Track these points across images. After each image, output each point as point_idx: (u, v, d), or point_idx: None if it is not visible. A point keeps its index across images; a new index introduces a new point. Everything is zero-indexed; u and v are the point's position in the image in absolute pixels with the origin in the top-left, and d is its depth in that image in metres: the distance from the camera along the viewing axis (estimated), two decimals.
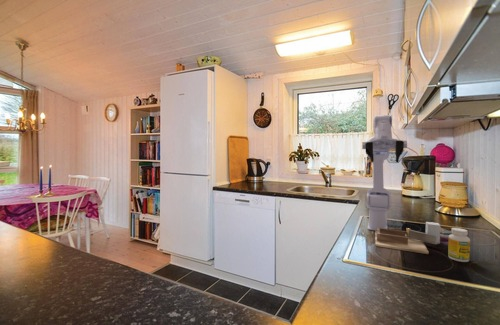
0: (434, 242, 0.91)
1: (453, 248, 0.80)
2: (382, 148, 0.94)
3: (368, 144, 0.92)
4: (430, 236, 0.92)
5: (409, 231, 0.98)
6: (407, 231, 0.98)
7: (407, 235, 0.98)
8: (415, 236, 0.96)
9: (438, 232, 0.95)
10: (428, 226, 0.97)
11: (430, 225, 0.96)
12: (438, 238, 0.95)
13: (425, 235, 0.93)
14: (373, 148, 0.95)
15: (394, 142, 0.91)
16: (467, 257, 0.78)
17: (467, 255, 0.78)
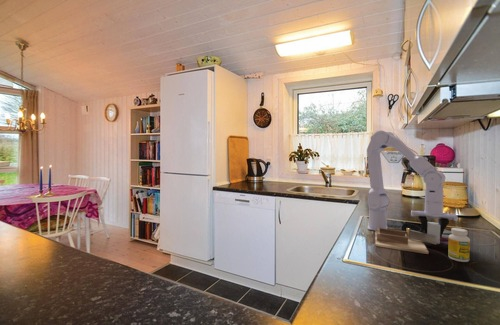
0: (434, 242, 0.91)
1: (453, 248, 0.80)
2: None
3: (423, 221, 0.97)
4: (430, 236, 0.92)
5: (409, 231, 0.98)
6: (407, 231, 0.98)
7: (407, 235, 0.98)
8: (415, 236, 0.96)
9: (438, 232, 0.95)
10: (428, 226, 0.97)
11: (430, 225, 0.96)
12: (438, 238, 0.95)
13: (425, 235, 0.93)
14: None
15: None
16: (467, 257, 0.78)
17: (467, 255, 0.78)
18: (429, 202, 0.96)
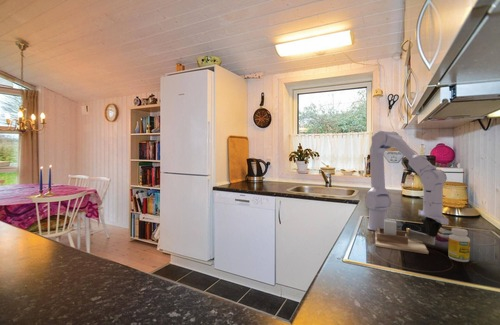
0: (432, 243, 0.90)
1: (453, 248, 0.80)
2: None
3: (422, 221, 0.94)
4: (428, 236, 0.91)
5: (409, 231, 0.98)
6: (407, 231, 0.98)
7: (407, 235, 0.98)
8: (414, 236, 0.96)
9: (394, 229, 0.95)
10: (385, 223, 0.96)
11: (387, 222, 0.96)
12: None
13: (423, 235, 0.93)
14: None
15: None
16: (467, 257, 0.78)
17: (467, 255, 0.78)
18: None
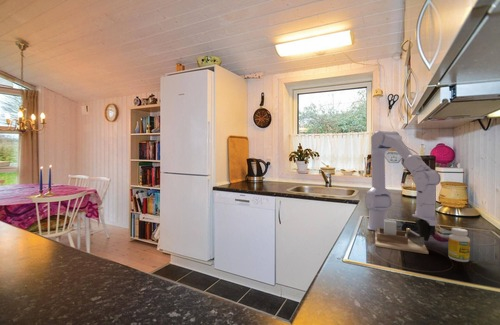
0: (419, 243, 0.90)
1: (453, 248, 0.80)
2: None
3: (416, 222, 0.93)
4: (417, 237, 0.91)
5: (407, 231, 0.98)
6: (406, 231, 0.99)
7: (406, 235, 0.99)
8: (410, 236, 0.96)
9: (394, 229, 0.95)
10: (385, 223, 0.96)
11: (387, 222, 0.96)
12: None
13: (415, 235, 0.92)
14: None
15: None
16: (467, 257, 0.78)
17: (467, 255, 0.78)
18: None
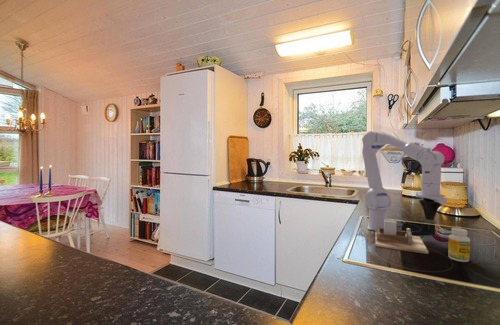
0: None
1: (453, 248, 0.80)
2: None
3: (420, 202, 0.96)
4: (407, 235, 0.92)
5: (406, 231, 0.98)
6: (406, 231, 0.99)
7: (406, 234, 0.99)
8: None
9: (394, 229, 0.95)
10: (385, 223, 0.96)
11: (387, 222, 0.96)
12: None
13: (407, 234, 0.93)
14: None
15: (433, 198, 0.90)
16: (467, 257, 0.78)
17: (467, 255, 0.78)
18: None
